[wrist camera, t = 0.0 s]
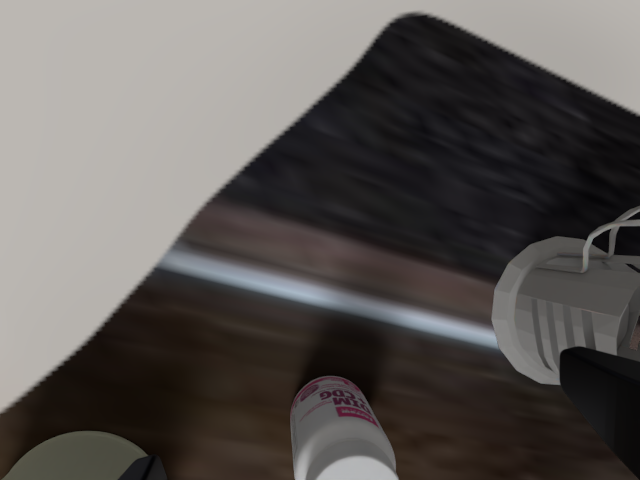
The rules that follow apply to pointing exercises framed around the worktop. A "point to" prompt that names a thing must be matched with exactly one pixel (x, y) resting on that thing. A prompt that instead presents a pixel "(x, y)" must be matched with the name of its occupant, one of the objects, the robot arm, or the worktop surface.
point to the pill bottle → (338, 434)
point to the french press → (567, 302)
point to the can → (77, 458)
